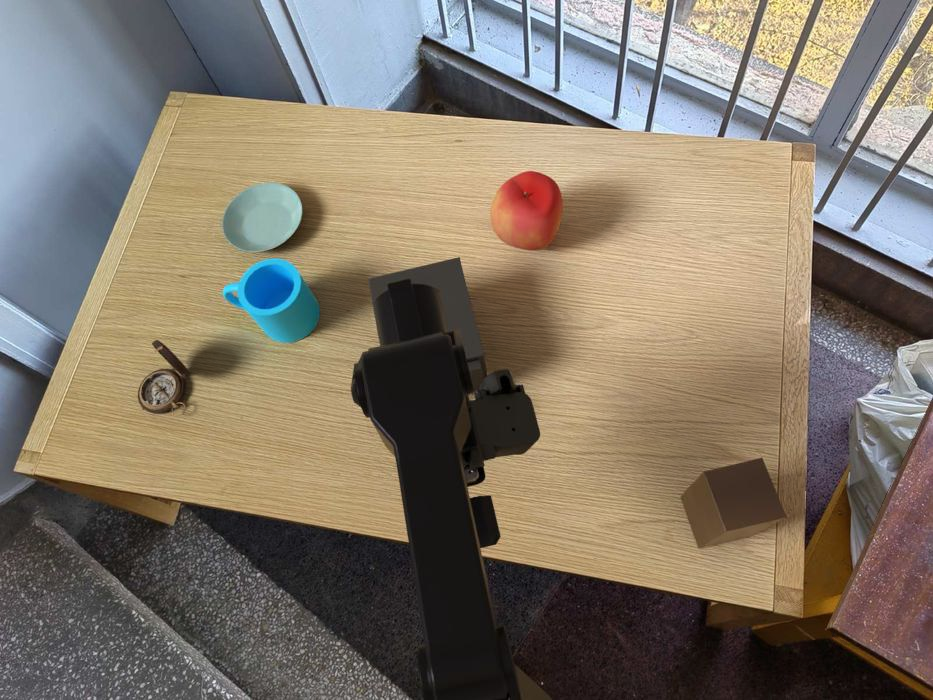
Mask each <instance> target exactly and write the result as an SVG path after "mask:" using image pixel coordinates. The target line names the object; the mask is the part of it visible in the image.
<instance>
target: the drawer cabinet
mask: <svg viewBox="0 0 933 700" xmlns="http://www.w3.org/2000/svg"><path fill="white" fill-rule="evenodd" d="M407 278H411V281H412V284H424V285H429V286H431V287H434V288H435V289H438V290H439V292H440V297H441V301H442V305H443V310H444V314H445V318H446V323H447V327H448V332H450V331H454V330H458V329H459V330H460V334H461V338H462V342H463V346H464V351H465V355H466V359H467V361H471V360H473V361H475V360H480V363H481V368H482V373H483V378H485V377H487V376H488V369H487V365H486V358H485V353H484V350H483V346H482V342H481V338H480V334H479V329H478V325H477V321H476V318H475V314H474V309H473V305H472V302H471V299H470V293H469V289H468V285H467V281H466V278H465V273H464V269H463V265H462V261H461V258H460V256H458V257H454V258H450V259H445V260H441V261H438V262H437V261H436V262H433V263H432V262H431V263H429V264H425V265H420V266H416V267H411V268H407V269H403V270H399V271H395V272H391V273H387V274H381V275H377V276H374V277H370V278H368V279H367V280H368V286H369V291H370V299H371V301H372V302H371V303H372V305H373V304H374V301H375V300H376V298H377V297H378V296H380V295H381V294H382V293H384V292H385V291H387V290H388V286H387V283H390V282H394V281H399V280H403V279H407Z"/></svg>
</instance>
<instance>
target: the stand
mask: <svg viewBox="0 0 933 700" xmlns="http://www.w3.org/2000/svg"><path fill="white" fill-rule="evenodd" d="M680 500H681V503H682V506H683V508H684V512H685V514H686V517H687V520H688V523H689V525H690V529H691V531H692V534H693V537H694V540H695V543H696V545H697V548H698V549H703V548H708V547H713V546H717V545H720V544H724V543H729V542H733V541H737V540H743V539H745V538H750V537H753V536H754V535H756V534H758V533H760V532H762V531H764V530H766V529H768V528H769V527H771V526H773V525H776V524H777V523H779V522H780V521H782V520H784V519H786V518H787V515H786V512H785V509H784V507H783V505H782V502H781V500H780V497H779V495H778V493H777V490H776V488H775V485H774V483H773V480H772V477H771V475H770V473H769V471H768V468H767V466H766V464H765V461H764V458H763V457H759V458H755V459H754V458H753V459H750V460H746V461H742V462H738V463H733V464H729V465H725V466H722V467H717V468H712V469H709V470H704V471H702V473H701V474H700V475H699V476H698V477H697V478H696V479H695V480H694V481H693V482H692V483H691V484H690V486H689V487H687V488H686V490H685V491H684V492H683V493H682V494H681V495H680Z"/></svg>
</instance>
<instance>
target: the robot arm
mask: <svg viewBox="0 0 933 700" xmlns="http://www.w3.org/2000/svg"><path fill="white" fill-rule="evenodd" d="M387 286H388V290H387V291H385V292H384V293H382V294H381V295H380V296H378V297H377V298H376V300H375V301H374V304H373V303H372V310H373V313H374V319H375V325H376V331H377V337H378V342H379V346H374V347H370V348H368V350H366V351H362V353H361V355H360V357H359V360H358V361H357V362H356V363H353V368H352V377H351V382H350V383H351V384H350V393H351V397H352V401H353V403H354V404H356V405H357V406H359V408H360V409H361V410H362V413H363V415H364V417H365V418H367V419H370V421H371V423H372V425H373V427H374V428H375V430H376V432H377V434H378V436H379V438H380V439H381V442H383V445H384V446H385V448H386V449H387V450H388V451H389V452H390V453H391V454H392V455H393V456H394V458H395V465H396V470H397V471H396V472H397V476H398V483H399V489H400V496H401V502H402V507H403V508H402V509H403V515H404V522H405V528H406V534H407V540H408V547H409V553H410V559H411V565H412V566H411V567H412V573H413V581H414V585H415V592H416V598H417V599H416V600H417V604H418V611H419V617H420V624H421V630H422V636H423V643H424V644H420V645H418V646H417V650H416V651H417V653H416V655H417V656H416V657H417V668H418V676H419V682H420V687H421V693H422V696H423V697H422V698H423V700H553V698H552V697H551V696H550V694H548V693H547V692H546V691H545V690H544V689H542V687H541V686H539V685H538V683H536V682H535V681H534V680H532V679H533V678H530V676H528V675H527V674H526V673H525V672H524V671H523V670H522V669H521V668H520V667H519V666H518V665H516V663H515V660H514V655H513V652H512V647H511V644H510V640H509V639H510V638H509V636H508V631H507V628H506V625H505V624H504V625H500V626H498V624H497V620H496V615H495V609H494V606H493V601H492V596H491V592H490V591H491V590H490V587H489V582H488V577H487V573H486V568H485V563H484V558H483V553H482V549H484V548H488V547H493V546H496V545H497V544H498V543H499V541H500V539H501V537H502V536H501V533H500V532H501V531H500V527H499V523H498V520H497V519H498V518H497V514H496V509H495V506H494V503H493V498H492V495H477V496H473V497H470V492H469V488H470V487H474V486H478V485H479V484H482V483H483V482H484V481H485V479H486V471H485V466H486V465H485V461H491V460H493V459H496V458H501V457H502V458H503V457H509V456H515V455H516V456H520V455H524V454H526V453H527V452H528V451H529V450H530V449H531V448H532V447H533V446H534V445H535V444H536V443H537V442H538V441H539V440H540V438H541V430H540V425H539V422H538V419H537V415H536V412H535V411H536V410H535V408H534V404H533V401H532V399H531V397H530V396H529V395H528V393H526V391H525V387H524V384H516V383H515V381H514V376H513V374H512V372H511V370H510V369H500V370H499V369H498V370H497V369H496V370H494V371H493V372H491V373H490V374H489V375H488V374H487V375H488V376H487V377H485V378H484V379H483V380H482V382H481V383H480V389H477V390H475V391H474V389H473V385H472V380H471V376H470V372H469V368H468V363H467V359H466V355H465V351H464V346H463V342H462V338H461V334H460V330H459V329H458V330H454V331H450V332H448V327H447V323H446V318H445V314H444V310H443V305H442V301H441V297H440V292H439V290H438V289H435V288H434V287H431V286H429V285H424V284H412V281H411V278H407V279H403V280H399V281H394V282H390V283H387ZM465 394H466V395H465ZM470 394H473V395H474V399H473V400H472V399H471V400H470V398H469V395H470Z"/></svg>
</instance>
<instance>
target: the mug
mask: <svg viewBox="0 0 933 700" xmlns="http://www.w3.org/2000/svg"><path fill="white" fill-rule="evenodd" d="M233 292H237V295H235V294H233ZM222 296H223V298H224V300H225V301H227V302H228V303H229V304H231V305H233V306H235V307H237V308H239V309H242V310H244V311H246V313H247V314H248V315H249V316H250V317H251V318H252V319H253V321H254V322H255V323H256V324H257V325H258V326H259V328H260V329H261V330H262V331H263V332H264V333H265V335H266V336H267V337H269V339H272V340H273V341H275V342H279V343H283V344H286V343H290V344H291V343H294V342H295V343H296V342H297V341H301V340H303V339H304V338H306V337H307V336H309V335H310V334H311V333H312V332H313V330H315V328H316V327H317V324H318V322H319V321H320V313H321V308H320V304H319V302H318V300H317V299H316V297H315V294H313V292H312V291H311V289H310V288H309V286H308V284H307V282H306V281H305V280H304V278H303V277H302V275H301V273H300V272H299V271H298V268H297V267H296V266H295V265H294V264H293V263H291V262H290V261H288V260H285V259H281V258H267V259H264V260H261V261H258V262H255V264H253V265H251V266H249V268H248V269H246V271H245V272H244V273H243V274H242V276H241V278H240V280H239V282H238V281H237V282H232V283H228V284H227V285H225V286H224V287H223V290H222Z"/></svg>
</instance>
